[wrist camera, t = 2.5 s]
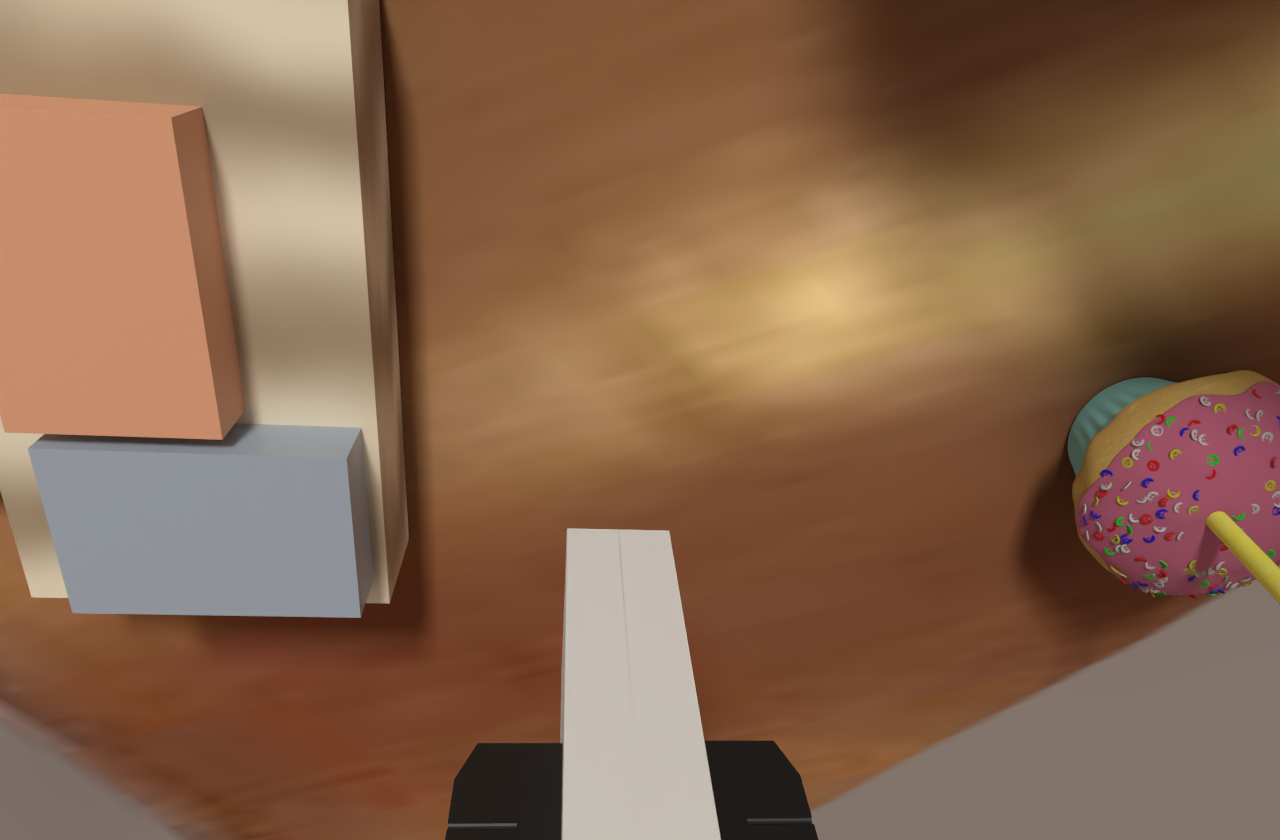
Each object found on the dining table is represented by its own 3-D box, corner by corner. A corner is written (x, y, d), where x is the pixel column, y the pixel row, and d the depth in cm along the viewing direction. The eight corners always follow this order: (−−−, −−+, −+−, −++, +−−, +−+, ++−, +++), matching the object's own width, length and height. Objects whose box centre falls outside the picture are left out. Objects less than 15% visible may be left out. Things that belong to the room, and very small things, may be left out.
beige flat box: (-59, -63, 25) (-166, -69, 21) (377, -29, 26) (345, -29, 22) (89, 531, 34) (31, 597, 30) (409, 539, 35) (389, 603, 31)
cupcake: (987, 501, 36) (1161, 728, 25) (1078, 306, 32) (1328, 474, 21) (1173, 533, 37) (1414, 761, 26) (1281, 350, 33) (1611, 528, 23)
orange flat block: (-38, 91, 23) (-89, 101, 21) (201, 106, 24) (170, 117, 22) (42, 402, 27) (4, 432, 25) (245, 409, 28) (222, 439, 26)
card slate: (102, 575, 30) (72, 613, 28) (63, 417, 27) (27, 448, 26) (373, 580, 31) (360, 617, 29) (361, 427, 28) (346, 458, 26)
